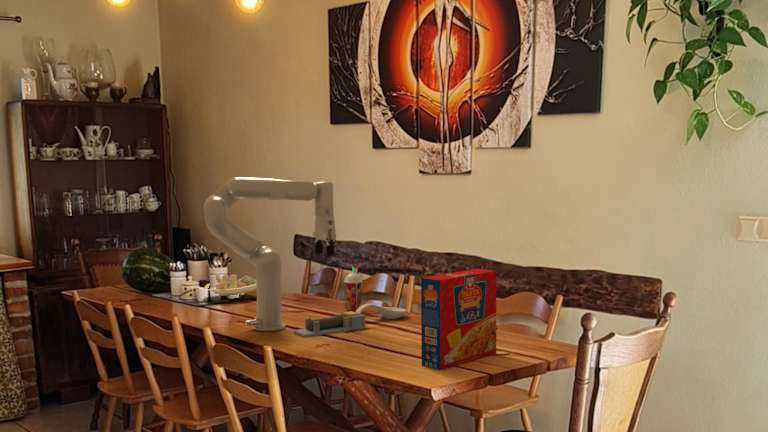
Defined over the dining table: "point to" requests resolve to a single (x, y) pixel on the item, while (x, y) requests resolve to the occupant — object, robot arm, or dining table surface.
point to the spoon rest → (384, 311)
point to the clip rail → (355, 323)
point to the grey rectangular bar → (331, 321)
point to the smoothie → (353, 291)
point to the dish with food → (233, 285)
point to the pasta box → (458, 317)
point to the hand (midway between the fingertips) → (324, 254)
